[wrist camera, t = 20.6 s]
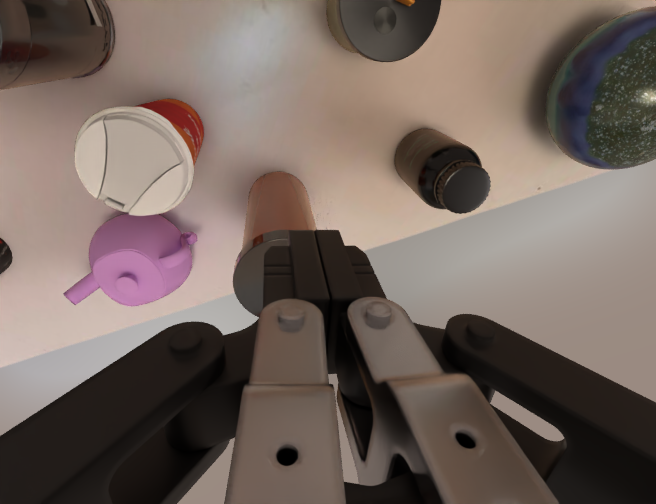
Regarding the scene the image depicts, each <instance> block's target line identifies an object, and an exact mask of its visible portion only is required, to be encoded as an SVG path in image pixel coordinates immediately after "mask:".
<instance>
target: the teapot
mask: <svg viewBox="0 0 656 504" xmlns="http://www.w3.org/2000/svg"><path fill="white" fill-rule="evenodd" d="M196 241H197V235H196V234H195V233H194V232H186V233H183V234H182V233H181V232H180V231H179V230H178V229H177V227H175V226H174V225H173V224H172V223H171V222H170V221H168V220H167V219H165V218H164V217H162V216H161V215H158V214H155V215H146V216H134V215H129V213H126V214H123V215H120V216H117V217H115V218H112V219H111V220H109V221H107V222H106V223H104V224H103V225H102V226H100V228H99V229H98V230H97V231H96V232H95V234H94V236H93V238H92V240H91V243H90V247H89V261H90V266H91V270H92V272H91V273H89V274H88V275H87V276H85V277H84V278H83V279H81V280H80V281H79V282H78V283H76V284H75V285H74V286H72V287H71V288H70V289H68V290H67V291H66V292H65V293H63V294H64V295H65V297H66V298H67V299H69V300H70V301H71V302H72V303H73V304H75V305H76V304H78V303H79V302H80V301H82V300H83V299H84V298H86V297H87V296H89V295H90V294H91V293H93V292H94V291H95V290H97V289H98V288H101V289H102V290H103V292H104V293H105V294H107V295H108V296H109V297H110V298H111V299H113V300H114V301H116V302H118V303H120V304H122V305H126V306H139V305H143V304H147V303H150V302H153V301H155V300H158V299H160V298H162V297H164V296H166V295H168V294H170V293H171V292H173V291H174V290H176V289H177V288H178V287H180V286H181V285H182V284H183V282H184V281H185V280H186V278H187V277H188V275H189V273H190V271H191V268H192V255H191V251H190V247H189V245H191V244H194V243H195V242H196Z"/></svg>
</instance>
